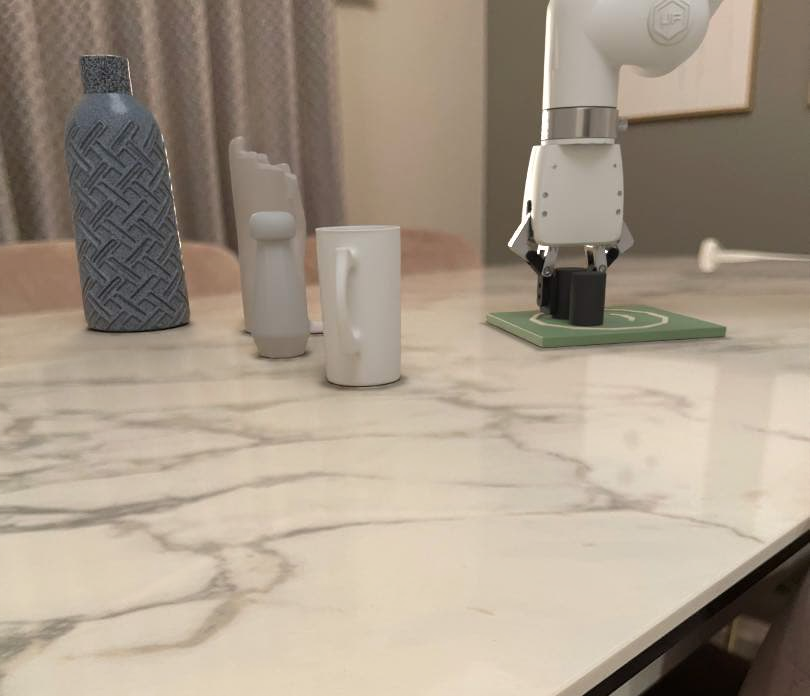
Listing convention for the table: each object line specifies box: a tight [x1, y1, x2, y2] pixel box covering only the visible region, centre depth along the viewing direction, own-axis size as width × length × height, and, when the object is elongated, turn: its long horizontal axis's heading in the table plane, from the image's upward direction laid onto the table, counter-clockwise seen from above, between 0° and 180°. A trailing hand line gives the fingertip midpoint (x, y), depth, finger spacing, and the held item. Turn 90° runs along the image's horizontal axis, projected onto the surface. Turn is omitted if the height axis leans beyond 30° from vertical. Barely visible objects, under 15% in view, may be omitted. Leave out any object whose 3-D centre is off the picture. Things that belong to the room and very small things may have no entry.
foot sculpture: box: [228, 135, 323, 334], centre depth 93 cm, size 7×14×20 cm, turn 88°
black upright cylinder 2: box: [569, 271, 608, 326], centre depth 89 cm, size 4×4×5 cm
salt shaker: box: [249, 211, 311, 359], centre depth 80 cm, size 6×6×13 cm
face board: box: [486, 304, 727, 349], centre depth 93 cm, size 20×18×1 cm
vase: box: [63, 54, 191, 333], centre depth 97 cm, size 12×12×28 cm
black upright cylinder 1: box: [551, 266, 587, 320], centre depth 93 cm, size 4×4×5 cm
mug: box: [315, 225, 402, 387], centre depth 68 cm, size 10×7×12 cm, turn 169°
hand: (567, 310), depth 94 cm, fingers open, 4 cm apart
